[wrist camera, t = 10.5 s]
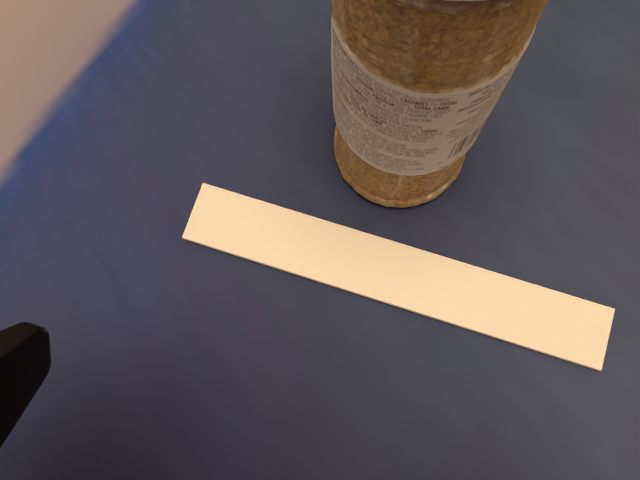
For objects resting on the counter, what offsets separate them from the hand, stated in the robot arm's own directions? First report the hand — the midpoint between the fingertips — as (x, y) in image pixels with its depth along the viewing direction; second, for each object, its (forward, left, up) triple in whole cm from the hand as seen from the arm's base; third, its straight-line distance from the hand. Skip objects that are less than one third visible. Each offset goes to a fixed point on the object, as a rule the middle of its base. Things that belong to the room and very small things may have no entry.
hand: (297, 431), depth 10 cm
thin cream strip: (+5, -1, -9) cm, 11 cm away
